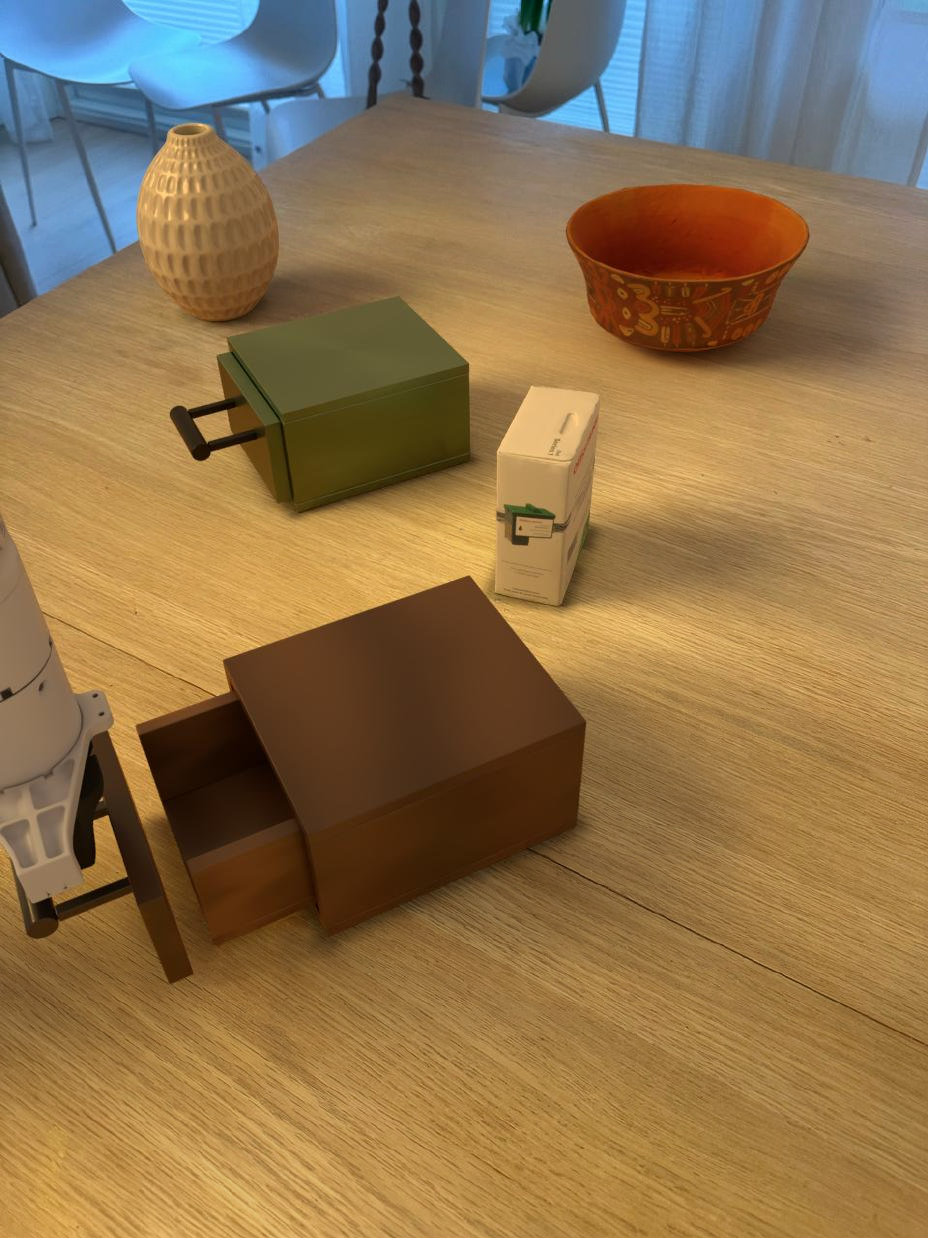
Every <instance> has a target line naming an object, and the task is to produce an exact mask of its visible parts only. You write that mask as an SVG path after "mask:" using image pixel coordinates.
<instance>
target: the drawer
mask: <svg viewBox="0 0 928 1238" xmlns="http://www.w3.org/2000/svg"><path fill="white" fill-rule="evenodd" d="M215 358H216V361H217V366H218V367H217V368H218V372H219V377H220V382H221V387H222V388H221V389H222V392H223V398H224V399H222V400H218V401H215V402H212V403H207V404H204V405H199V406H196V407H192V408H188V409H187V407H186V406H184V405H175V406H173V407H172V408H171V409H170V411H169V419H170V420H171V422H172V423H173V425H174V427H175V429H176V431H177V432H178V434H179V436H180V437H181V439H182V441H183V443H184V444H185V446H186V448H187V450H188V452H189V454H190V455H191V458H193V459H194V460H195V461H197V462H204V461H206V460H208V459H209V458H210V457H211V454H212V453H213V452H216V451H219V450H223V449H224V450H225V449H227V448H231V447H234V446H238V445H240V446H241V448H242V450H243V451H244V453H245V454H246V456H247V459H249V461H250V462H251V464H252V465H253V467H254V469H255V470H256V472H257V473H258V475H259V476H260V478H261V479H262V481H263V482H264V484H265V486H266V488H267V489H268V490H269V492H270V493H271V495H272V496H273V498H274V500H275V501H276V503H277V504H281V503H285V502H287V501H289V500H291V499H292V492H291V485H290V479H289V473H288V466H287V460H286V453H285V447H284V441H283V434H282V428H281V421H280V418H279V416H278V415H277V413H276V412H275V411H274V409H273V408H272V406H271V405H270V404H269V402H268V401H267V399H266V398H265V397H264V395H263V394H262V392H261V391H260V390H259V388H258V387H257V386H255V385H254V384H253V382H252V381H251V379H250V378H249V377H248V375H247V374H246V372H245V371H244V370H243V368H242V367H241V365H240V364H239V363H238V361H237V360H236V358H235V357H234V356H233V354H232V353H231V352H229V351H227V352H223V353H219V354H216V357H215ZM225 411H226V413H227V418H228V422H229V428H230V431H231V433H232V434H230V435H226V436H223V437H219V438H216V439H212V440H209V441H207V440H206V439H205V436H204V435H203V434H202V432H201V430H200V428H199V427H198V425H197V424H196V422H195V420H194V419H198V418H202V417H206V416H210V415H213V414H217V413H221V412H225Z"/></svg>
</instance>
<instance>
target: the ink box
mask: <svg viewBox="0 0 928 1238" xmlns="http://www.w3.org/2000/svg"><path fill="white" fill-rule="evenodd" d="M600 405H601V395H600V394H599V393H595V392H592V391H591V392H590V391H583V390H572V389H566V388H559V387H552V386H545V385H543V386H542V385H536V384H535V385H531V386H530V388H529V390H528V392H527V394H526V396H525V397H524V399H523V401H522V403H521V405H520V407H519V409H518V411H517V413H516V414H515V417H514V418H513V420H512V422H511V424H510V426H509V428H508V430H507V431H506V433H505V435H504V437H503V439H502V441H501V443H500V445H499V447H498V449H497V451H496V505H495V506H496V509H495V511H496V513H495V519H496V520H495V574H494V575H495V576H494V577H495V581H494V583H495V584H494V592H495V594H499V595H502V596H506V597H511V598H514V599H520V600H524V601H528V602H529V601H530V602H533V603H539V604H544V605H550V606H555V607H558V606H560V605H562V603H563V601H564V598H565V595H566V592H567V590H568V587H569V584H570V582H571V579H572V576H573V573H574V572H575V571H574V570H575V568H576V565H577V562H578V560H579V557H580V554H581V551H582V549H583V546H584V542H585V540H586V538H587V535H588V533H589V527H590V518H591V517H590V516H591V509H592V508H591V506H592V495H593V486H594V485H593V483H594V482H593V481H594V473H595V472H594V471H595V462H596V461H595V460H596V449H597V448H596V447H597V439H598V429H599V428H598V427H599V419H600V417H599V416H600Z"/></svg>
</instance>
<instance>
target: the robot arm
mask: <svg viewBox="0 0 928 1238" xmlns="http://www.w3.org/2000/svg"><path fill="white" fill-rule="evenodd" d="M50 631H51V630H50V629H49V626H48V623H47V621H46V618H45V616H44V613H43V611H42V608H41V606H40V603H39V599H38V598H37V595H36V592H35V590H34V588H33V585H32V583H31V580H30V578H29V575H28V572H27V569H26V568H25V565H24V562H23V559H22V558H21V554H20V552H19V550H18V547H17V545H16V542H15V541H14V539H13V537H12V536H11V534H10V533H9V530H8V528H7V525H6V523H5V521H4V518H3V515H2V513H1V511H0V847H1V849H3V850H4V851H5V853H6V854H7V855H8V858H9V857H10V858H11V859H12V861H13V864H14V867H15V870H16V874H17V876H18V878H19V880H20V882H21V884H22V886H23V888H24V889H25V891H26V893H27V895H28V897H29V899H30V901H31V902H32V903H36V902H39V901H41V900H44V899H46V898H49V897H52V898H53V897H55V896H57V895H60V894H62V893H66V892H68V891H69V890H71V889H74V888H76V887H79V886H81V885H83V884H85V879H84V875H83V870H85V869H88V868H91V867H93V866H95V864H96V859H97V848H96V847H97V846H96V837H95V830H94V821H93V819H94V813H95V810H96V807H97V805H98V803H99V802H100V801H102V799H103V798H102V797H103V791H104V779H103V774H102V771H101V768H100V765H99V762H98V759H97V756H96V754H94V755H91V751H92V748H93V744H92V741H91V739H92V737H93V736H95V735H96V734H99V733H101V732H104V731H106V730H108V731H109V730H110V729H111V728H112V727H113V726H114V724H115V719H114V716H113V713H112V710H111V706H110V703H109V701H108V699H107V698H108V697H107V696H106V693H105V692H104V691H103V690H100V689H91V690H88V691H85V692H80V693H76V692H74V691H73V688H72V686H71V683H70V681H69V678H68V676H67V672H66V670H65V668H64V665H63V663H62V660H61V657H60V656H59V652H58V649H57V647H56V645H55V642H54V640H53V637H52V634H51V632H50ZM90 755H91V756H90ZM10 858H9V859H10Z"/></svg>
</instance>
